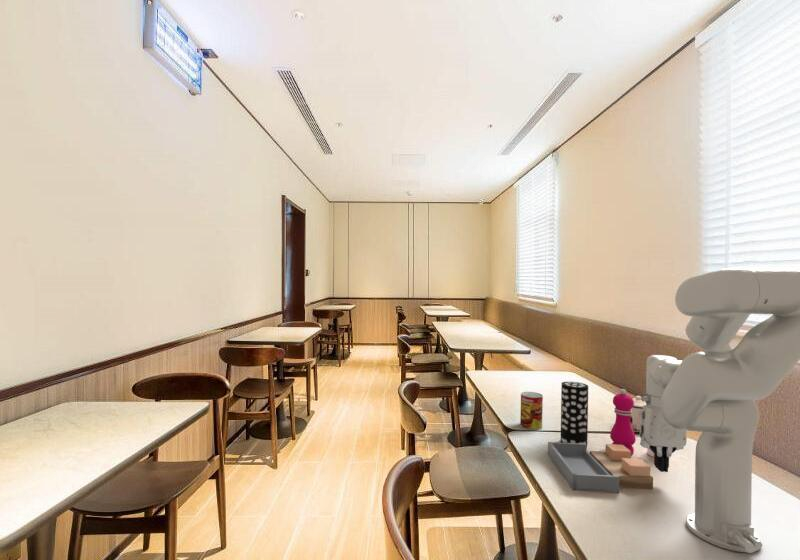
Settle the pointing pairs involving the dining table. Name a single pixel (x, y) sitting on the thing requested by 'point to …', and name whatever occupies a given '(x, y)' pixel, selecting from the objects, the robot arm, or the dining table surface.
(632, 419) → the teacup with lid
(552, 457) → the box
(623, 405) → the pepper mill
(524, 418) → the canned food
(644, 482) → the board
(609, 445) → the tile
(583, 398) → the spotted tube
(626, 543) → the dining table surface
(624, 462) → the tile
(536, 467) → the dining table surface
